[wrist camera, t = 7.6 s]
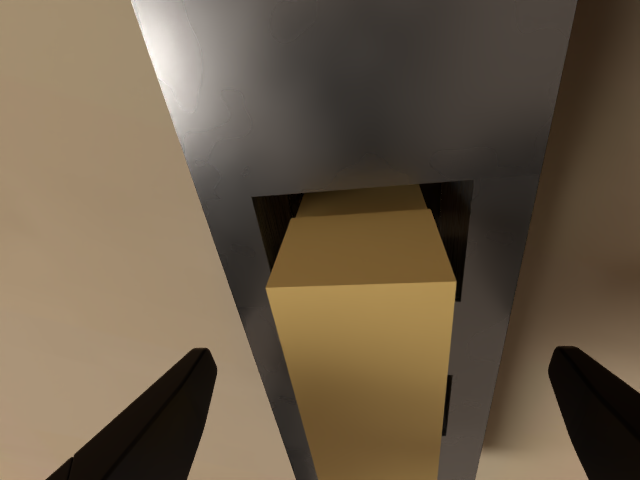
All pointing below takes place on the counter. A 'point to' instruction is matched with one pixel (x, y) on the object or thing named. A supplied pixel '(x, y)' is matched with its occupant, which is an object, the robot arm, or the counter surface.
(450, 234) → the rail
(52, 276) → the counter surface
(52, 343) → the counter surface
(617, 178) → the counter surface
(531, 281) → the counter surface
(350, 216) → the yellow rectangular block
